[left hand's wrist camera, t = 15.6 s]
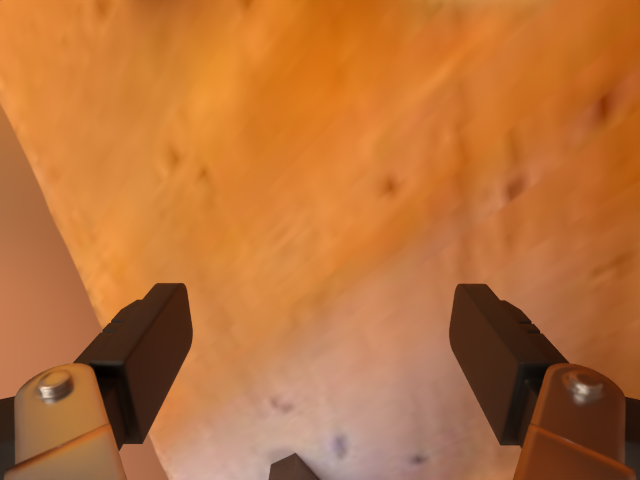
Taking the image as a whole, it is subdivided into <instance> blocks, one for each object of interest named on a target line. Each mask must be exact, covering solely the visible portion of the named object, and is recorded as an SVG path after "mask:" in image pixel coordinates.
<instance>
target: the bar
mask: <svg viewBox="0 0 640 480" xmlns="http://www.w3.org/2000/svg"><path fill="white" fill-rule="evenodd" d="M269 480H318V478H317V477H316V476H315V475H314V474H313V473H312V472H311V470H310V469H309V468H308V467H307V466H306V465H305V464H304V462H303V461H302V460H301V459H300V458H299V457H298V456H297V454H296V453H295V454H293V455H290V456H288V457H286V458H284V459H282V460H280V461H278V462H276V463H274V464H272V465H271V468H270V474H269Z"/></svg>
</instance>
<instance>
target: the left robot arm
mask: <svg viewBox="0 0 640 480" xmlns="http://www.w3.org/2000/svg"><path fill="white" fill-rule="evenodd" d="M192 337H193V329H192V321H191V315H190V308H189V301H188V294H187V289H186V286H185V284H183V283H157V284H155V285H154V286H153V288H152V289H151V290H150V291H149V292H148V294H147V295H146V296H145V297H144V298H143V299H142V300H136V301H134V302H133V303H131V304H130V305H128V306H126V307H125V308H123V309H121V310H120V312H119V313H118V314H117V315H116V316H115V317H114V318H113V319H112V320H111V323H109V324H108V325H107V326H106V327H105V328H104V329H103V332H102V333H100V334H99V335H98V336H97V337H96V338H95V339H94V340H93V341H92V343H91V344H90V345H89V346H88V347H87V348H86V349H85V350H84V351H83V353H82V354H81V355H80V356H79V357H78V358H77V359H76V360H75V361H74V362H73V363H71V364H64V365H60V366H57V367H53V368H51V369H48V370H46V371H44V372H42V373H40V374H38V375H36V376H35V377H33V378H32V379H30V380H29V381H27V382H26V383H25V384H24V385H23V386H22V387H21V388H20V389H19V391H18V392H17V394H16V396H14V397H10V398H5V399H0V480H127V478H126V474H125V471H124V468H123V464H122V461H121V458H120V454H119V451H120V449H121V447H122V445H123V444H143V442H144V440H145V438H146V436H147V434H148V432H149V430H150V428H151V426H152V424H153V422H154V420H155V418H156V416H157V414H158V412H159V410H160V408H161V406H162V404H163V402H164V400H165V398H166V396H167V394H168V392H169V390H170V388H171V386H172V384H173V382H174V380H175V378H176V376H177V374H178V372H179V370H180V368H181V366H182V364H183V362H184V360H185V358H186V356H187V354H188V352H189V350H190V347H191V344H192ZM449 338H450V344H451V348H452V351H453V353H454V355H455V357H456V359H457V361H458V363H459V365H460V366H461V368H462V370H463V372H464V374H465V376H466V378H467V380H468V382H469V384H470V386H471V388H472V390H473V392H474V394H475V396H476V398H477V400H478V402H479V404H480V406H481V408H482V410H483V412H484V414H485V416H486V418H487V420H488V422H489V424H490V426H491V428H492V430H493V431H494V433H495V435H496V437H497V439H498V441H499V443H500V445H520V447H521V448H522V451H521V454H520V458H519V461H518V464H517V468H516V471H515V474H514V477H513V480H640V400H637V399H633V398H628V397H625V396H624V394H623V392H622V391H621V389H620V388H619V387H618V386H617V385H616V384H615V383H614V382H613V381H611V380H610V379H608V378H607V377H606V376H604V375H602V374H600V373H598V372H596V371H594V370H592V369H589V368H587V367H583V366H580V365H576V364H570V363H569V362H568V361H567V360H566V359H565V358H564V357H563V356H562V354H561V353H560V352H559V351H558V350H557V349H556V348H555V347H554V346H553V345H552V344H551V342H550V341H549V340H548V339H547V338H546V337H545V336H544V335H543V334H540V330H539V329H538V328H537V327H536V326H535V325H534V324H532V323H531V321H530V319H529V318H528V317H527V316H526V315H525V314H524V313H523V312H522V311H521V310H520V309H518V308H517V307H515V306H513V305H512V304H510V303H508V302H507V301H505V300H499V298H498V297H497V296H496V295H495V294H494V293H493V291H492V290H491V289H490V288H489V287H488V286H487V285H486V284H458V285H457V287H456V290H455V295H454V302H453V308H452V315H451V322H450V329H449Z"/></svg>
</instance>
